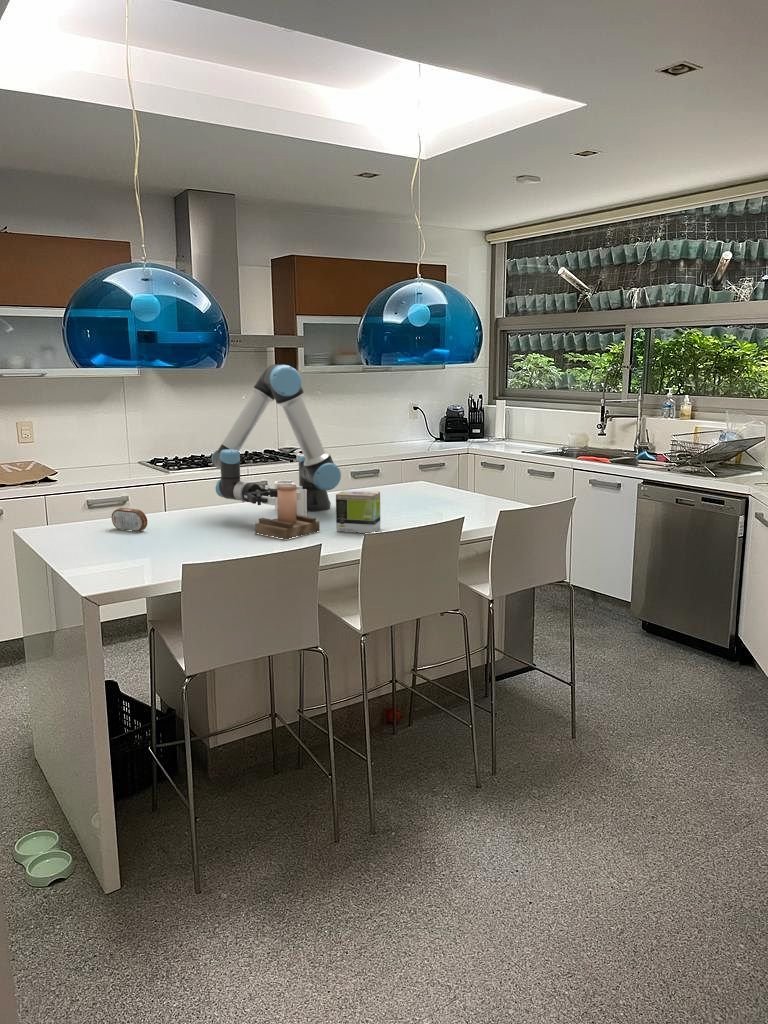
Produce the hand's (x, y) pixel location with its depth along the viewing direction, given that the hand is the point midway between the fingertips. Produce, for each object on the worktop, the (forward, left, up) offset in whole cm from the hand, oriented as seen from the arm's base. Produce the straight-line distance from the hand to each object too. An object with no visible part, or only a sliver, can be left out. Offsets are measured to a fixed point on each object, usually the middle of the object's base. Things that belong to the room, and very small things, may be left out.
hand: (287, 498), depth 297 cm
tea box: (-20, +17, -13) cm, 30 cm away
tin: (+35, -50, -13) cm, 62 cm away
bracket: (-25, -24, -13) cm, 38 cm away
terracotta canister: (0, -1, -9) cm, 9 cm away
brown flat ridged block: (0, -1, -13) cm, 13 cm away
